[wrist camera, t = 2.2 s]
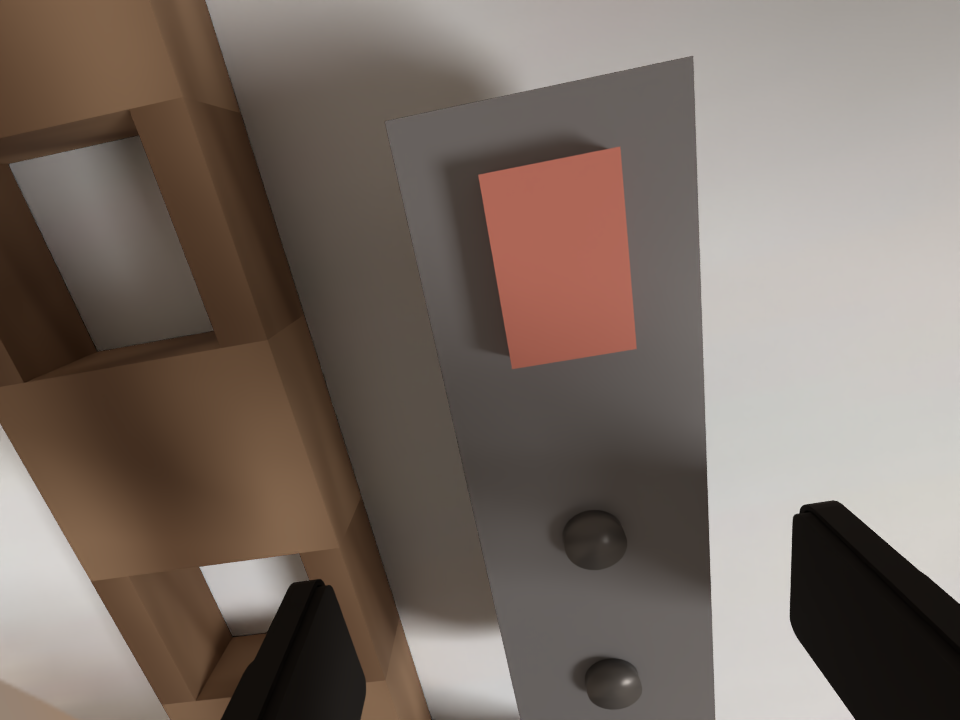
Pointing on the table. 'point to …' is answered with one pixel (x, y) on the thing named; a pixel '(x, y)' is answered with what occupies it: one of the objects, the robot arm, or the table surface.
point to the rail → (177, 365)
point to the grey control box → (576, 378)
